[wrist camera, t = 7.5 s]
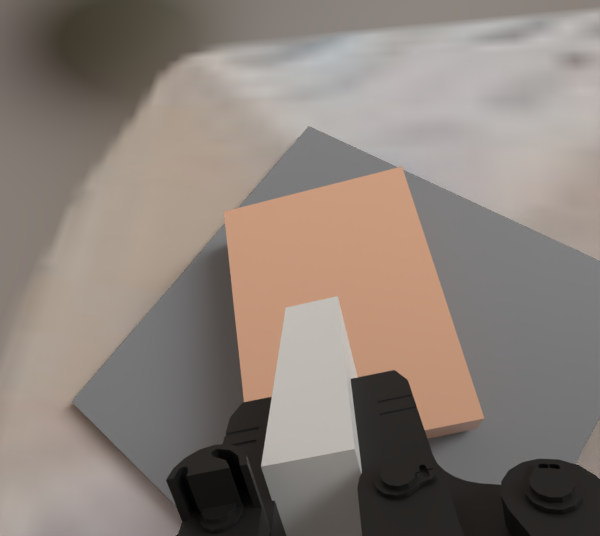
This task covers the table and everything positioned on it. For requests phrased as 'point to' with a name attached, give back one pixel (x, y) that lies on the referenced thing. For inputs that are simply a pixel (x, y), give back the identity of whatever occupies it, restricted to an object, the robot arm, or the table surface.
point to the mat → (462, 306)
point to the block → (351, 290)
